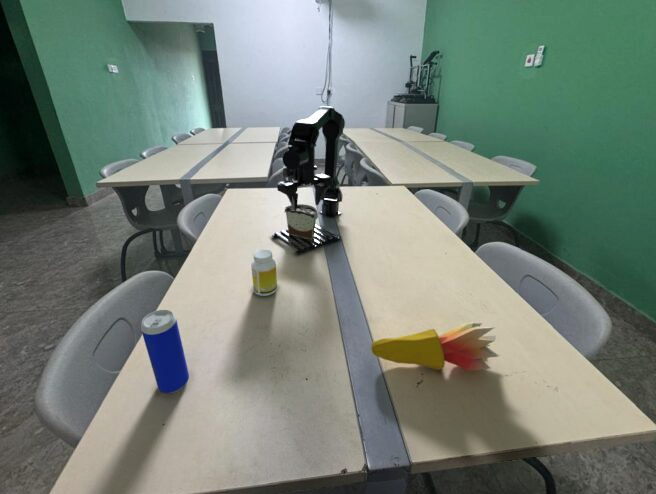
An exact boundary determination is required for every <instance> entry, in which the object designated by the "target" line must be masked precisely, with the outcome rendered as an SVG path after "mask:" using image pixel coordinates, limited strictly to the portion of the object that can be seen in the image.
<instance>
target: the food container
mask: <svg viewBox="0 0 656 494" xmlns="http://www.w3.org/2000/svg"><path fill="white" fill-rule="evenodd" d="M284 213H285V217H286V224H287V229H288V232H289V234H290V235H291V236H293V237H296V236H298V237H302V238H305V239H307V240H309V239H311V240H312V239H313V238H314V239H315V237H314V233H315V229H316V228H315V224H316V223H317V222H316V221H317V219H318V218H319V214H318V211H317V208H316V207H314V206H313V205H310V204H304V203H303V204H302V203H301V204H300V203H299V204H298V203H297V209H296V211H294V210H293V208H292V205H291V204H290V205H288V206H287V205H286V206H285V208H284ZM311 240H310V241H311Z"/></svg>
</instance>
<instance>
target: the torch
mask: <svg viewBox="0 0 656 494" xmlns="http://www.w3.org/2000/svg"><path fill="white" fill-rule="evenodd" d="M481 325H483V322H481V323H480V322H479V323H478V322H477V323H476V321H470V322H465V323H463V324H461V325H458V326H457V327H455V328H453V329H451V330H449V331H448V332H445V333H443V334H441V335H438V332H437V331H436V329H435V328H431V329H427V330H425V331H424V330H423V331H421V332H417V333H413V334H408V335H403V336H398V337H393V338H391V337H390V338H389V337H388V338H381V339H378V340H374V341H373V342H371V346H370V348H371V352H372V354H373V355H374V356H375V357H378V358H380V359H383V360H385V361H389V362H393V363H397V364H407V365H408V364H409V365H418V366H422V367H424V366H425V367H426V368H430V369H432V370H437V371H439V370H441V369H443V368H444V367H445V364H446V362H447V363H449V364H452V365H454V366H457V367H459V368H461V369H462V370H463V371H465V372H472V371H480V370H481V371H482V370H490V369H491V368H492V367H490V365H488V364H487V363H486V362H488V359H489V358H497V357H501V355H500V354H498V353H497V352H496V351H495V350H493V349H491V348H489V347H491V345H490V344H491V343H494V342H495V341H496V337H497V335H487V336H486V334H488V333H489V332H491V331H493V329H495V328H496V327H493V326H481Z"/></svg>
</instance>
